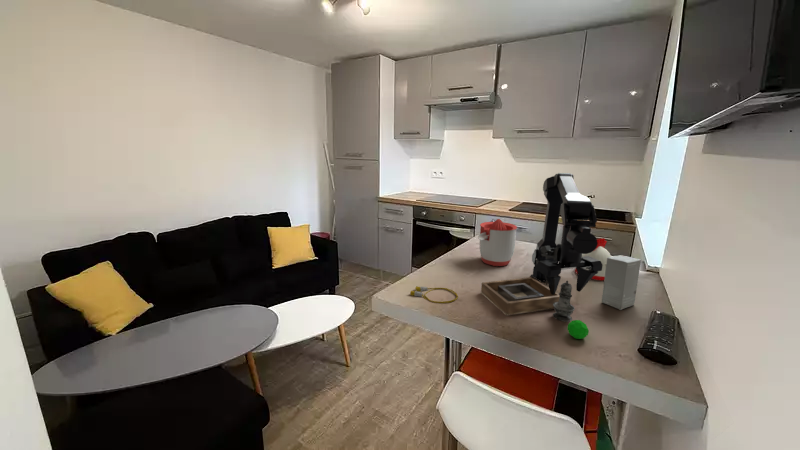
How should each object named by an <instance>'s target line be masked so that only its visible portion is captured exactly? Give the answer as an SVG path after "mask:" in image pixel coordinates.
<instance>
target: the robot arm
mask: <svg viewBox="0 0 800 450" xmlns="http://www.w3.org/2000/svg"><path fill="white" fill-rule="evenodd" d="M542 185H543V186H542V191H543V195H544V197H545V200H546V201H547V204H546V211H545V217H544V225H543V231H542V238H541V239H540V240H539V241H538V242H537V243H536V249H535V248H534V250H533V253H532V256H531V263H532V264H533V265H534V266H533V268H532V274H530V277H532V278H533V279H535V280H537V281H538V282H540V283H544V282H547V287H548V288H549V289H550V293H551V294H552V295H554V294H555V292H557V289H558V286H559V283H560V281H561V277H562V276H560V275H561V273H562V271H563V270H570V269H571V270H573V269H577V272H578V274H577V277H576V285H575V286H576V291H577V292H582V290H583V289H584V287H586V286H587V284H588V283H589V281H591V280H592V279H591V278H592V277H593V276H594V275H595V274H598V271H602V266H603V264H602V263H601V261H600V260H597V259H595V258H592V257H590V256H584V257H582V254H588V253H591V252H592V251H594V250H595V249H596V247H597V244H598V242H597V239H598V238H597V237H596V236H595V235H594V234H593V233H592V228H596V226H597V223H598V220H597V214H596V209H595V206H594V204H592V203H593V202H592V201H591V200H590V199H589V197H588V196H585V195H583V194H582V193H580V190H579V188H578V186H577V184H576V182H575V180H574V174H573V173H568V172H567V173H566V172H558V173H555V175H552V176H550V177H547V178H546V179H545V180H544V181H543V184H542ZM560 217H561V222H562V225H563V227H562V234H561V241H560V243H556V240H557V235H558V234H557V232H558V226H559V220H560Z"/></svg>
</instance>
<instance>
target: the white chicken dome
mask: <svg viewBox="0 0 800 450" xmlns="http://www.w3.org/2000/svg"><path fill="white" fill-rule="evenodd" d="M596 239H597V242H598V244H597V247H596V249H595V250H594V251H592V252H591V253H588V254H582V257H584V256H590V257H592V258H595V259H597V260H600V261H601V263H602V264H603V266H602V271H598V274H595V275H594V276H593V277H592V278H591V279H590V280H594V279H595V280H596V281H603V280H604V279H605V271H606V263H607V258H608V257H612V255H611V253H610V252H609V251H608V250H607V249H606V248H605V246H606V245H607V242H608V241H607V240H606V238H603V237H602V238H601V237H600V238H596ZM574 271H575V274H577V275H578V272H577V269H576V268H574Z"/></svg>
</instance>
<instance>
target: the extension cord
mask: <svg viewBox="0 0 800 450" xmlns="http://www.w3.org/2000/svg"><path fill="white" fill-rule="evenodd" d="M435 290H445V291H448V292H450V293H452V294H453V295H455V296H456V297H455V298H454V299H452V300H446V301H435V300H431V299H430V298H429V297H428V296H427V294H428V293H429V292H431V291H435ZM425 291H426V292H425ZM423 292H425V293H424V294H423ZM410 296H412V297H422V298H424V300H428V301H429V302H431V303H434V304H450V303H453V302H455V301H456V300H457V299H458V298H459V297H458V294H457V292H456V291H454V290H453V289H450V288H448V287H447V288H446V287H427V286H416V287H415V291H414V290H411V291H410Z"/></svg>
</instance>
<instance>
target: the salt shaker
mask: <svg viewBox="0 0 800 450" xmlns="http://www.w3.org/2000/svg"><path fill="white" fill-rule="evenodd" d="M572 289H573V286H572V284H571V283H569V281H568V279H567V280H566V281H565V282H562V283H561V284H560V292H559V293H558V294H559V295H560V296H559V301H558V302H555V303H553V306H554V312H553V313H552V316H553V318H554V319H556V320H558V321H561V322H565V323H566V322H569V323H570V322H571V321H572V320H573V318H572V316H571V315H572V314H573V313H574V311H575V309H576V308H575V306H574V305H572V304H571V298H572V297H573V294H572Z"/></svg>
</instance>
